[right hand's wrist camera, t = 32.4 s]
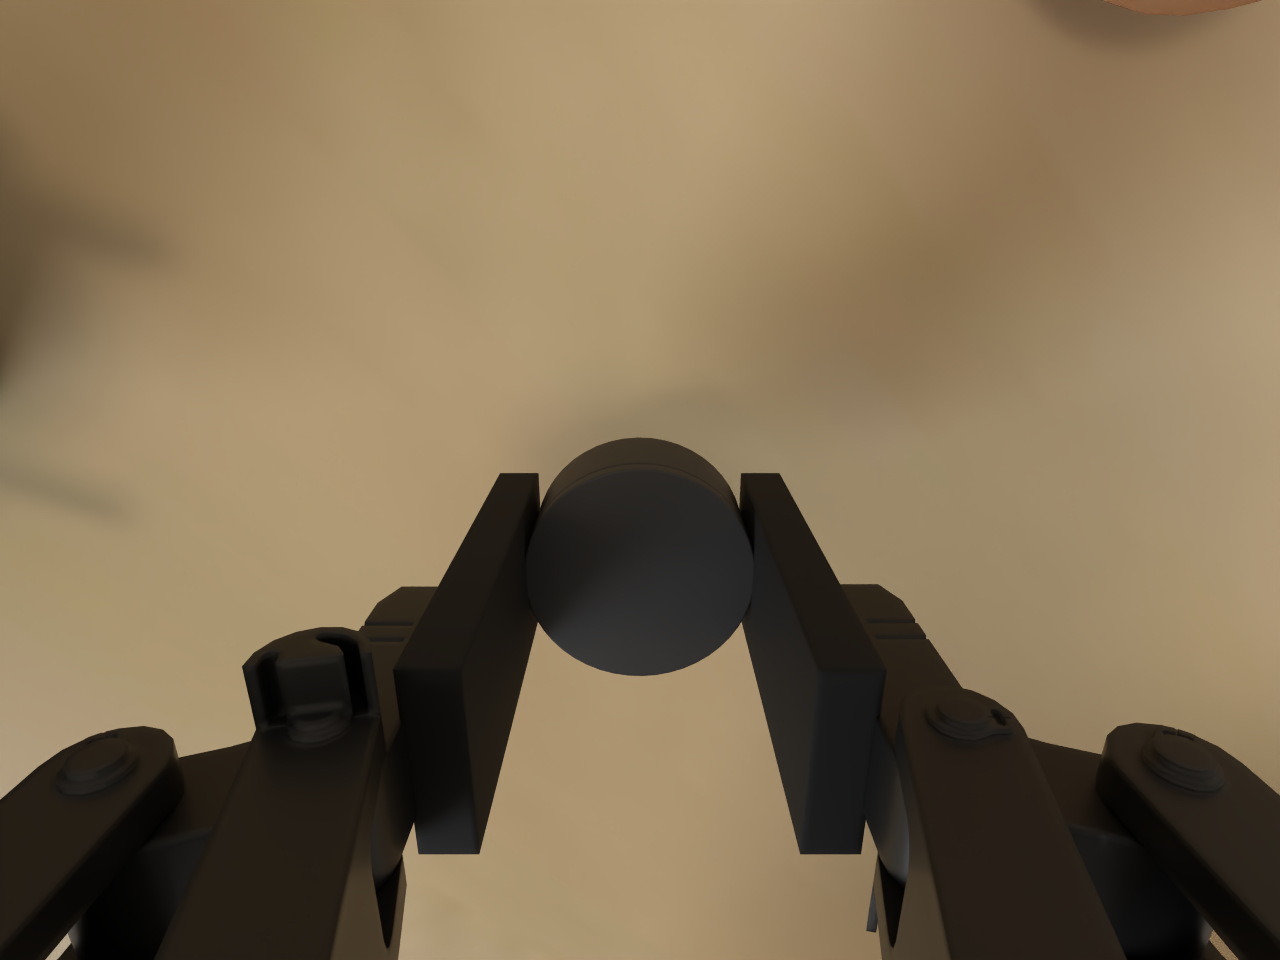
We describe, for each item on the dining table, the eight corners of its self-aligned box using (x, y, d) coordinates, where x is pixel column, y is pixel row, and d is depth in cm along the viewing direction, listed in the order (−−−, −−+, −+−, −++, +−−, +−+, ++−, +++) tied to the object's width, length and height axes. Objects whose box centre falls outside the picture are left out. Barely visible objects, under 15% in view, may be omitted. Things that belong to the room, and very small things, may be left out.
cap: (739, 620, 15) (752, 674, 13) (544, 624, 15) (532, 678, 13) (744, 434, 14) (759, 466, 12) (530, 438, 14) (513, 471, 12)
